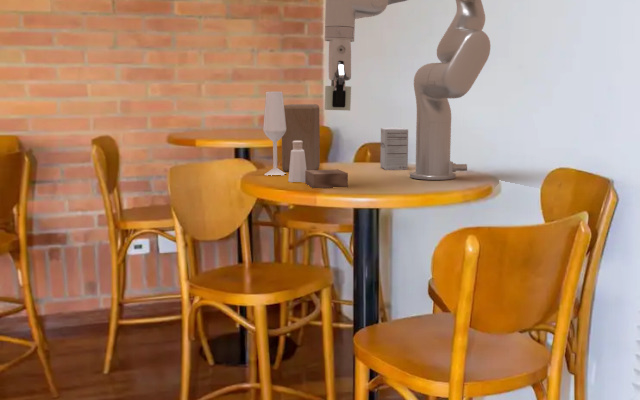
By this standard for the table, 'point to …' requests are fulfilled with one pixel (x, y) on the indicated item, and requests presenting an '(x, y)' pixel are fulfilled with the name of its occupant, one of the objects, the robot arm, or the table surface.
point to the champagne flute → (274, 124)
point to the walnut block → (326, 178)
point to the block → (302, 134)
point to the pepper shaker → (297, 163)
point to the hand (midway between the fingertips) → (337, 106)
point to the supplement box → (394, 148)
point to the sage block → (329, 98)
